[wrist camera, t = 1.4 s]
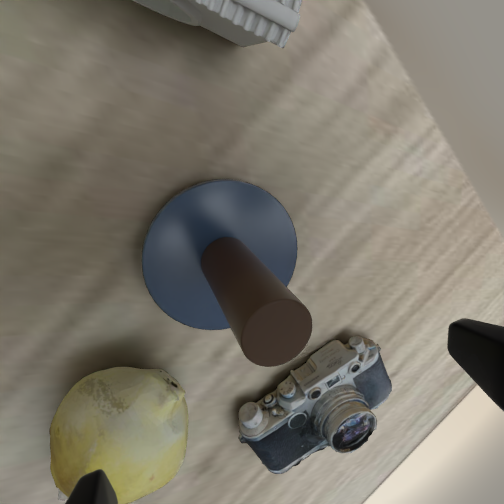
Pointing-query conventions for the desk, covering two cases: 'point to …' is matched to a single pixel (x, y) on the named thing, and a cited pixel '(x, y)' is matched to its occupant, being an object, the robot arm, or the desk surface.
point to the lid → (229, 267)
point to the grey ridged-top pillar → (235, 17)
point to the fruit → (120, 431)
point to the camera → (318, 406)
